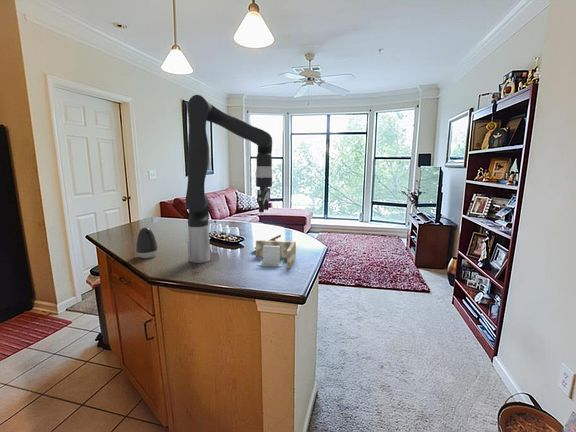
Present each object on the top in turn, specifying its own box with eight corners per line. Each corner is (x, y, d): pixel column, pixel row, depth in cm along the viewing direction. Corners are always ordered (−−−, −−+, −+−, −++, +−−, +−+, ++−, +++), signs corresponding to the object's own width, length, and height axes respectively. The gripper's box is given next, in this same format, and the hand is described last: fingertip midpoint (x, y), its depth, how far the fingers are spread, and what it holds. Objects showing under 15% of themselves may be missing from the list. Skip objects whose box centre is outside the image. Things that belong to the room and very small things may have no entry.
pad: (257, 265, 132) (257, 265, 132) (262, 259, 141) (262, 259, 141) (281, 266, 130) (281, 266, 130) (284, 260, 139) (284, 260, 139)
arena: (246, 266, 131) (246, 249, 130) (256, 255, 148) (256, 240, 146) (290, 268, 128) (290, 251, 127) (295, 257, 144) (295, 241, 143)
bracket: (280, 262, 136) (280, 246, 134) (278, 266, 131) (278, 249, 129) (264, 261, 137) (263, 245, 136) (261, 265, 132) (260, 248, 131)
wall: (261, 262, 150) (283, 243, 149) (250, 249, 151) (272, 230, 149) (268, 257, 166) (287, 240, 165) (258, 245, 167) (278, 229, 166)
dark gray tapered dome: (141, 261, 139) (138, 230, 137) (133, 257, 146) (130, 227, 144) (162, 256, 146) (159, 227, 144) (153, 252, 153) (151, 224, 151)
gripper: (260, 176, 142) (260, 208, 144) (251, 176, 128) (251, 212, 131) (275, 176, 140) (275, 209, 143) (268, 177, 127) (267, 213, 129)
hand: (263, 211), depth 137 cm, fingers open, 8 cm apart
